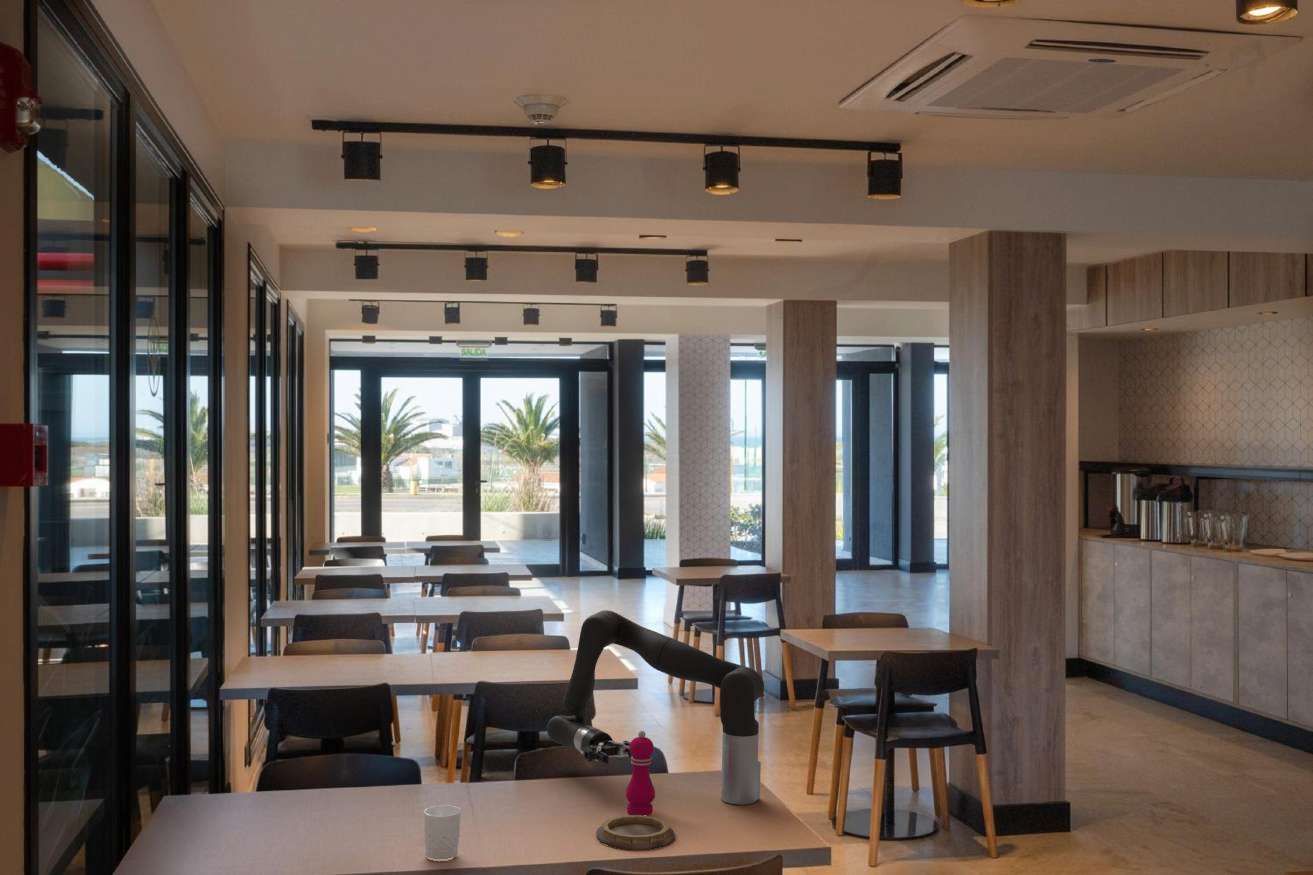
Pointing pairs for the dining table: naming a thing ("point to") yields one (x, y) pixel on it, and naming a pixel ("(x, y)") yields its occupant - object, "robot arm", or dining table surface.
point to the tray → (635, 832)
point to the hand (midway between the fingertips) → (622, 757)
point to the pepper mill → (640, 777)
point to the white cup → (442, 831)
